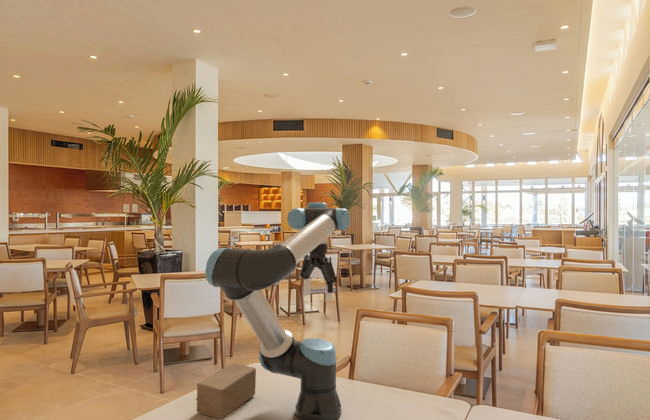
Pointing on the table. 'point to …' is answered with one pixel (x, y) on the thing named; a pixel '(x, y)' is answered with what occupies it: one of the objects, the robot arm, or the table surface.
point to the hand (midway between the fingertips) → (317, 298)
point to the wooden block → (226, 390)
